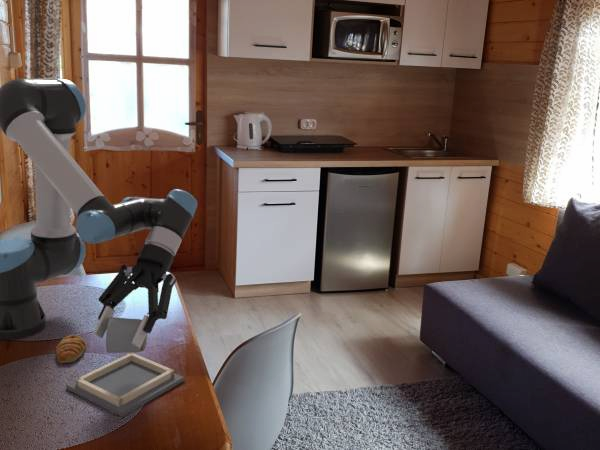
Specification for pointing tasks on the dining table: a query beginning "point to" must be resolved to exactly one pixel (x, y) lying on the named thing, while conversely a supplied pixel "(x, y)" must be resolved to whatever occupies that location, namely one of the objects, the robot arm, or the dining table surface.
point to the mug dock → (125, 383)
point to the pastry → (70, 349)
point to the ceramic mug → (122, 335)
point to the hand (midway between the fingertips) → (116, 340)
